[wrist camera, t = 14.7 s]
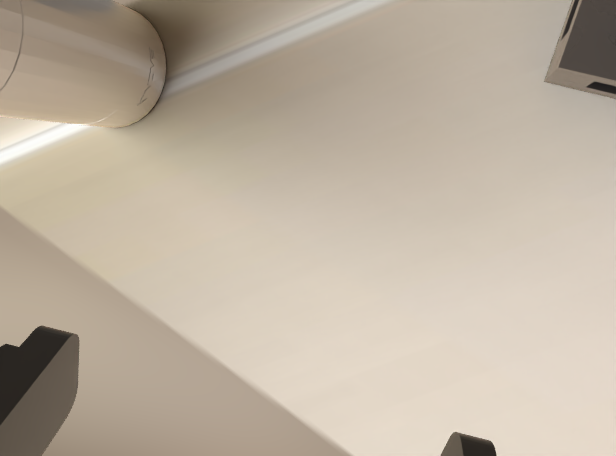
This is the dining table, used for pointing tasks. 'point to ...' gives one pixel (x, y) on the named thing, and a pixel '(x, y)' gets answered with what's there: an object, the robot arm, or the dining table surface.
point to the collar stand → (587, 49)
